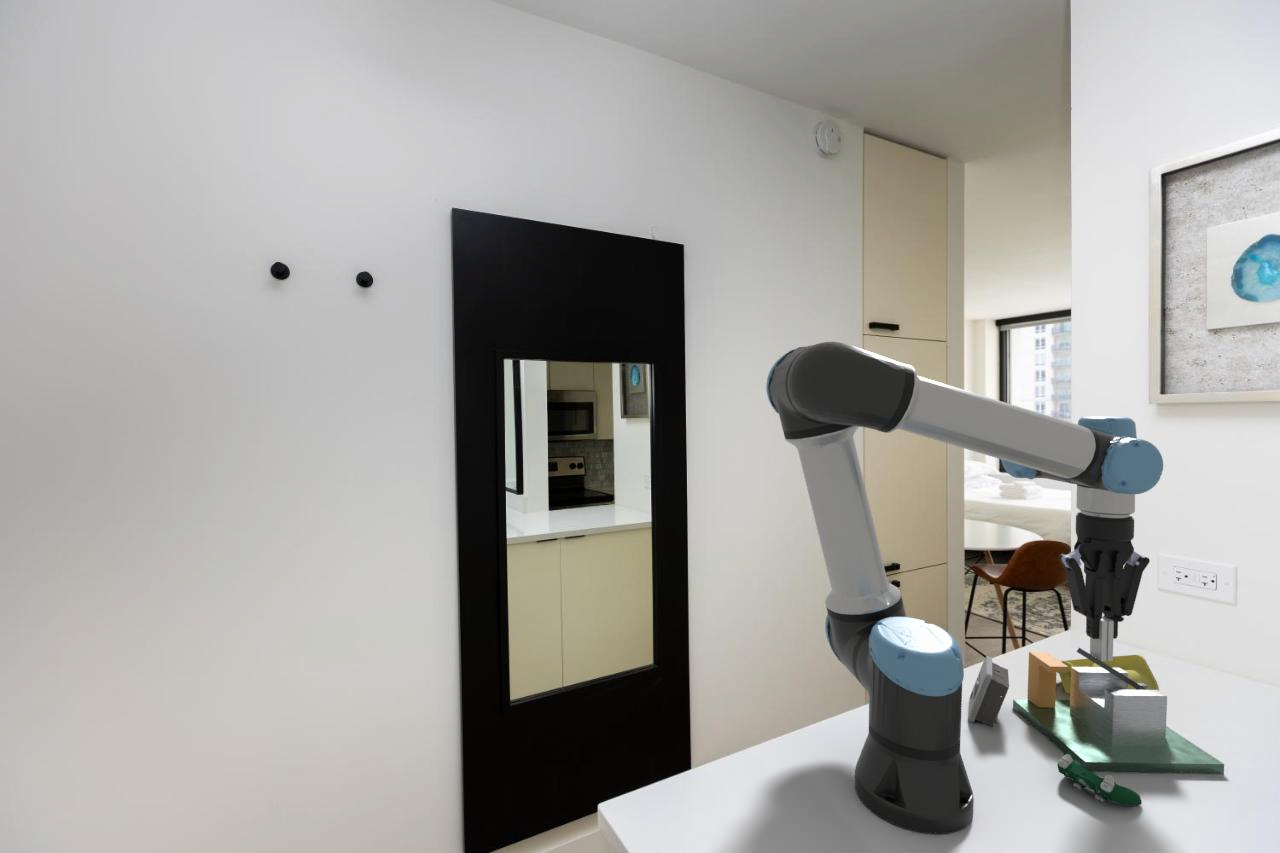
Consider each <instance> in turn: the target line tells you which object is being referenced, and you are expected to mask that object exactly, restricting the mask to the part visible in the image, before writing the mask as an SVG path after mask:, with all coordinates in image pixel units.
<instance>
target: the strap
mask: <svg viewBox="0 0 1280 853" xmlns="http://www.w3.org/2000/svg"><path fill="white" fill-rule="evenodd" d="M1076 652H1077V653H1078V654H1079V655H1081V656H1083V657H1085V659H1089V660H1091V661H1092V662H1094V663H1096V664H1097V665H1099V666H1100V667H1102V668H1104V669H1105V670H1107V671H1108V672H1110V673H1112V674H1113V675H1115V676H1116V677H1118V678H1120V679H1121V680H1123V681H1125V682H1126V683H1128V684H1129V685H1131V686H1133V687H1134V688H1136V689H1137V690H1148V689H1146V688H1144V687H1142V686H1140V685H1139V684H1137V683H1136V682H1134V681H1132V680H1131V679H1129V678H1128V677H1126V676H1124V675H1123V674H1121V673H1120V672H1118V671H1116V670H1115V669H1113V668H1112V667H1110V666H1108V665H1107V664H1105V663H1103V662H1102V661H1100V660H1099V659H1097V658H1096V657H1094V656H1092V655H1091V654H1090V652H1088V651H1085V650H1084V649H1082V648H1081V647H1078V649H1077V650H1076Z"/></svg>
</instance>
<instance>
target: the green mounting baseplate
mask: <svg viewBox="0 0 1280 853" xmlns="http://www.w3.org/2000/svg"><path fill="white" fill-rule="evenodd" d="M1112 668H1113V669H1115V670H1116V671H1118V672H1120V673H1121V674H1123V675H1124V676H1126V677H1128V672H1126V671H1124V670H1123V669H1121V668H1119V667H1112ZM1137 684H1139V685H1140V686H1142V687H1144V688H1146V689H1147V685H1145V684H1144V683H1137ZM1069 694H1070V695H1069V696H1070V697H1069V699H1056V700H1055V708H1043V707H1037V706H1035V705H1034V704H1033V703H1032V702H1030V701H1029V700H1028V699H1017V698H1016V699H1013V700H1012V708H1013V709H1014V710H1015V709H1016V710H1017V711H1018V713H1019V714H1020V716H1022V717H1023V718H1024V719H1025V720H1026V719H1027V722H1028V723H1030V725H1032V726H1033V725H1034V726H1035V727H1036V729H1037V730H1038V731H1039V732H1040V734H1042V735H1043V736H1044V737H1045V738H1047V739H1048V740H1049V741H1050V742H1051V743H1052V744H1054V746H1055V747H1057V748H1058V749H1059V750H1060V751H1061V752H1062V753H1063V754H1065V755H1066V754H1069V755H1071V758H1072V759H1073V760H1075V761H1077V762H1079V763H1080V764H1081V766H1082V767H1083V768H1084V769H1086V770H1088V771H1090V772H1092V773H1129V774H1131V773H1136V774H1138V773H1139V774H1140V773H1141V774H1147V773H1148V774H1198V775H1199V774H1202V775H1203V774H1205V775H1224V774H1225V763H1223V762H1222V761H1221V760H1219V759H1217V758H1215V757H1214V756H1213V755H1211V754H1209V753H1208V752H1207V751H1205V750H1203V749H1202V748H1200V747H1199V746H1197V745H1196V744H1194V743H1193V742H1191V741H1190V740H1188V739H1187V738H1186V737H1184V736H1183V735H1180V734H1179V733H1178V732H1177V731H1174V730H1173V729H1171V728H1170V727H1169V726H1167V712H1168V711H1167V710H1168V709H1167V707H1168V695H1166V694H1165V693H1163V692H1162V691H1160V690H1159V691H1158V690H1137V689H1136V690H1130V689H1128V683H1126V682H1125V681H1123V680H1121V679H1120V678H1118V677H1116V676H1115V675H1113V674H1112V673H1110V672H1108V671H1107V670H1105V669H1104V668H1102V667H1071V691H1070V693H1069ZM1016 710H1015V711H1016ZM1017 711H1016V712H1017ZM1034 726H1033V727H1034ZM1035 727H1034V728H1035Z"/></svg>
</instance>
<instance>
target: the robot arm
mask: <svg viewBox="0 0 1280 853" xmlns="http://www.w3.org/2000/svg"><path fill="white" fill-rule="evenodd" d="M765 388H766V395H767V398H768V399H767V400H768V401H769V403H770V405H771V407H772V409H773V410H774V411H775V412H776V413H777V414H778V415H779V420H780V424H781V428H782V432H783V437H784V440H785V441H786V442H787V443H789V444H791V445H793V446H794V447H795V448H796V449H797V452H798V455H799V461H800V464H801V469H802V473H803V476H804V480H805V485H806V488H807V493H808V496H809V501H810V506H811V509H812V514H813V518H814V522H815V525H816V529H817V530H816V531H817V534H818V538H819V542H820V546H821V549H822V554H823V560H824V562H825V566H826V571H827V574H828V579H829V584H830V587H831V591H830V592H829V594H827V596H826V598H825V601H824V602H825V607H826V611H827V614H826V618H825V624H824V625H825V626H824V627H825V635H826V636H825V637H826V639H827V641H828V644H829V646H830V649H831V651H832V652H833V654H834V656H835V657H836V659H837V660H838V661H840V662H841V663H842V665H843V666H844V667H846V669H847V670H848V671H849V672H850V673H851V674H852V675H853V676H854V678H855V679H856V680H857V681H858V682H859V683H860V685H861V686H862V687H863V688H864V690H865V691H866V692H867V694H868V734H867V737H866V738H865V741H864V744H863V746H862V749H861V752H860V754H859V757H858V759H857V762H856V765H855V769H854V791H855V793H856V796H857V797H858V799H859V800H860V802H861V803H862V804H863V805H864V806H865V807H866V808H867V809H869V811H871V812H872V813H874V815H876V816H877V817H879V818H881V819H883V820H885V821H886V822H889V823H891V824H892V825H894V826H898V827H900V828H903V829H906V830H909V831H914V832H918V833H924V834H933V835H935V834H937V835H938V834H941V835H942V834H949V833H955V832H958V831H960V830H962V829H964V828H966V827H967V826H968V825H969V824H970V823H971V821H972V820H973V816H974V804H975V803H974V802H975V801H974V800H975V798H974V792H973V790H972V789H973V788H972V786H971V783H970V779H969V776H968V774H967V770H966V767H965V764H964V760H963V758H962V754H961V733H962V730H961V728H962V701H963V699H962V698H963V697H962V696H963V681H964V678H965V676H964V675H965V674H964V673H965V671H964V670H965V669H964V664H963V654H962V653H963V652H962V649H961V647H960V645H959V642H958V641H957V640H956V639H955V637H954V636H953V635H952V634H951V633H950V632H948V631H947V630H945V629H944V628H942V627H940V626H939V625H936V624H935V623H927V622H926V621H925V620H923V619H919V618H915V617H909V616H907V613H906V610H905V608H906V607H905V605H904V600H903V597H902V592H901V589H899V588H898V587H897V586H896V585H894V584H892V583H890V582H889V581H888V577H887V574H886V569H885V566H884V562H883V557H882V552H881V548H880V545H879V544H880V543H879V540H878V536H877V532H876V527H875V523H874V519H873V515H872V511H871V507H870V502H869V498H868V493H867V489H866V486H865V481H864V477H863V472H862V468H861V465H860V460H859V456H858V452H857V447H856V443H855V439H854V436H855V433H856V432H857V430H858V429H859V427H862V428H867V429H871V430H874V431H878V432H882V433H886V434H889V433H893V432H895V431H896V430H900V431H905V432H907V433H910V434H915V435H918V436H920V437H924V438H928V439H931V440H934V441H938V442H941V443H944V444H947V445H952V446H955V447H958V448H962V449H965V450H969V451H972V452H976V453H979V454H982V455H985V456H989V457H992V458H996V459H999V460H1000V461H1001V463H1002V467H1003V468H1004V470H1005V471H1006V473H1007V474H1008V475H1009V476H1011V477H1013V478H1016V479H1028V480H1033V479H1048V480H1051V481H1052V480H1053V481H1057V482H1062V483H1066V484H1071V485H1076V509H1077V510H1078V512H1077V513H1076V514H1075V534H1076V537H1077V539H1076V542H1075V543H1074V546H1073V550H1072V551H1070V552H1069V553H1068V554H1064V553H1061V554H1059V556H1058V560H1059V561H1060V564H1061V565H1062V567H1063V568H1064V571H1065V575H1066V580H1067V581H1066V582H1067V585H1068V590H1069V595H1070V598H1071V604H1072V609H1073V611H1074V612H1076V613H1079V614H1080V615H1082V616H1084V617H1085V625H1086V627H1085V633H1086V636H1087V637H1089V654H1091V655H1092V656H1094V657H1095V658H1097V659H1099V660H1101V661H1106V660H1107V661H1113V656H1114V640H1115V639H1117V638H1118V634H1119V622H1120V623H1122V622H1124V620H1125V617H1124V616H1127V617H1131V615H1132V614H1133V610H1134V607H1135V604H1136V599H1137V595H1138V592H1139V588H1140V584H1141V580H1142V578H1143V572H1144V571H1145V570H1146V568H1147V566H1148V565H1149V563H1150V562H1151V561H1150V558H1149V557H1147V556H1144V555H1141V554H1139V553H1137V552H1136V551H1135V547H1134V545H1133V543H1132V540H1133V539H1134V537H1135V518H1134V517H1133V516H1132V514H1134V513H1135V512H1136V495H1141V494H1144V493H1147V492H1149V491H1150V490H1152V489H1153V488H1154V487H1155V486H1156V485H1158V483H1159V481H1160V480H1161V476H1162V475H1163V471H1164V460H1163V456H1162V454H1161V452H1160V450H1159V449H1158V448H1157V446H1156V445H1154V444H1153V443H1152V442H1150V441H1148V440H1145V439H1141V438H1138V437H1137V427H1136V422H1135V421H1134V420H1133V419H1132V418H1130V417H1125V416H1083V417H1081V418H1079V419H1078V421H1077V423H1073V422H1070V421H1067V420H1063V419H1060V418H1057V417H1054V416H1050V415H1047V414H1045V413H1041V412H1037V411H1034V410H1032V409H1028V408H1024V407H1021V406H1018V405H1014V404H1011V403H1007V402H1005V401H1001V400H998V399H994V398H991V397H990V396H989V397H988V396H985V395H981V394H978V393H977V392H976V393H975V392H972V391H969V390H965V389H962V388H960V387H955V386H953V385H948V384H945V383H943V382H940V381H936V380H933V379H929V378H926V377H923V376H919V375H918V374H917V372H916V369H915V368H914V366H912V365H910V364H906V363H904V362H901V361H897V360H894V359H892V358H889V357H886V356H883V355H880V354H878V353H875V352H872V351H869V350H866V349H863V348H861V347H857V346H856V345H852V344H848V343H844V342H839V341H824V342H820V343H819V342H818V343H815V344H812V345H807V346H799V347H797V348H794V349H790V350H789V351H788V352H787V353H785V354H783V355H782V356H781V357H779V359H777V360H776V362H774V364H773V365H772V366H771V368H770V370H769V373H768V375H767V378H766V386H765ZM1082 563H1083V571H1082V568H1081V566H1082ZM1083 572H1084V573H1083ZM1083 574H1085V578H1084V575H1083Z"/></svg>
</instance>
